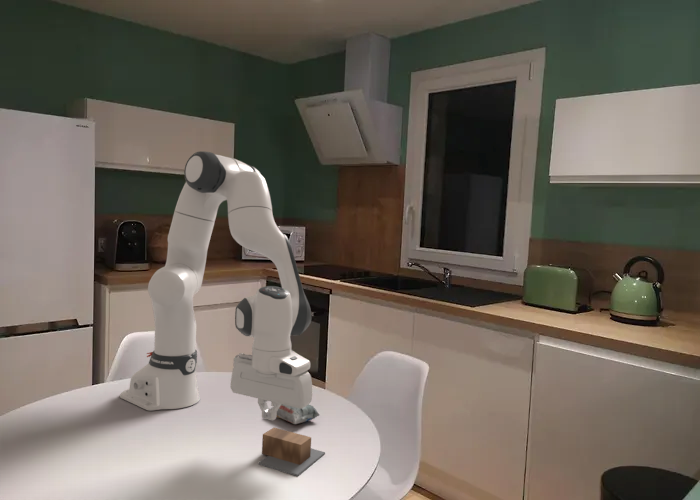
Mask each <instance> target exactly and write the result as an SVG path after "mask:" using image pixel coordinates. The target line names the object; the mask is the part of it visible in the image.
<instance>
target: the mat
mask: <svg viewBox="0 0 700 500" xmlns="http://www.w3.org/2000/svg"><path fill="white" fill-rule="evenodd" d="M324 455H326V452H325V451H322V450H319V449H318V450H317V449H314V448H311V454H310V457H309V458H308V459H307V460H306V461H304V462H303V463H302V464H301V465H298V464H295V463H292V462H288V461H285V460H282V459H278V458H275V457H271V456H268V455H266V457H265V458H263V459H261V460H260V461H259V462H258V463H257V464H258V465H260V466H263V467H267V468H269V469H273V470H276V471H279V472H283V473H286V474H289V475H293V476H296V477H299V476H300V475H301V474H303V473H304V472H305V471H306V470H308V469H309V468H310V467H311V466H313V464H315V463H316V462H317V461H318V460H320V459H321V458H322V457H323V456H324Z"/></svg>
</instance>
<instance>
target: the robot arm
mask: <svg viewBox="0 0 700 500" xmlns="http://www.w3.org/2000/svg"><path fill="white" fill-rule="evenodd" d="M184 166H185V167H184V170H183V171H184V179H185V182H184V185H183V187H182V189H181V191H180V193H179V196H178V200H177V202H176V205H175V208H174V212H173V215H172V220H171V223H170V228H169V231H168V234H167V253H166V261H165V265H164V266H162V267H160V268H159V269H157V270H156V271H155V272H154V273H153V275H152V276H151V278H150V279H149V281H148V286H147V292H148V295H149V297H150V300H151V307H152V312H153V319H154V342H153V343H154V347H153V349H154V350H153V351H150V352H147V353H146V358H149V361H148V363H147V364H146V365H144V366H143V367H142V368H140V369H138V371H136V372H134V373H133V374H132V376H131V377H130V380H129V381H130V382H129V387H128V388H127V389H125V390H123V391H122V392H121V393H120V396H119V398H121V399H122V400H125V401H126V402H128V403H131V404H133V405H135V406H138V407H139V408H141V409H144V410H146V411H148V412H149V411H159V410H177V409H182V408H186V407H190V406H192V405H195V404H198V402H199V401H201V400H200V399H201V397H200V394H199V393H200V392H199V388H198V381H197V369H196V367H197V363H198V351H197V350H198V349H196V348H197V347H196V346H197V321H196V315H195V311H194V309H195V308H194V296H195V295H196V294H198V293H199V291H200V290H201V288H202V285H203V280H204V274H205V269H206V263H207V256H208V249H209V245H210V242H211V241H210V240H211V238H212V237H211V236H212V233H213V230H214V227H215V221H216V218H217V214H218V210H219V207H220V205H221V204H222V203H224V202H225V201H226V203H227V219H228V226H229V227H228V228H229V231H230V234H231V236H232V238H233V240H234V241H235V242H236V243H237V244H239V246H242V247H243V248H245V249H247V250H249V251H252V252H255V253H258V254H260V255H262V256H263V257H265V258H267V259H269V260H270V261H272V263H273V264H274V265H275V268H276V270H277V273H278V274H277V275H278V277H279V281H280V286H281V287H279V286H275V285H267V286H262V287H260V288H259V289H257V291H256V293H255V294H254V295H252V296H247V297H244V298H243V299H241V300H240V301H239V302H238V304H237V305H236V307H235V312H234V325H235V329H236V330H237V331H238V332H240V333H241V334H242V335H243V336H245V337H250V338H253V342H252V346H251V349H252V350H251V354H246V353H245V352H244V353H242V352H240V353H239V354H237V355H235V357H234V358H233V362H232V363H233V368H232V371H231V372H232V373H231V378H230V390H231V391H232V393H234V394H238V395H242V396H246V397H250V398H255V399H257V404H258V406H259V409H260V411H261V418H262V419H266V420H270V421H275V420H276V419H277V417H276V416H277V411H278V409H279V407H280V406H281V404H283V405H288V406H292V407H296V408H300V409H302V408H304V407H306V406H307V405H311V402H312V400H313V382H312V380H313V379H312V375H311V374H310V373H309V371H308V370H310V369H311V361H310V360H309V359H307V358H305V357H304V356H302V355H301V354H298V353H297V352H296V351H294V350H293V349H292V341H291V336H293V337H294V336H295V337H296V336H297V337H298V336H300V335H302V334H303V333H304V332H305V331H306V330H307V329H308V328H309V327H310V325H311V322H312V310H311V306H310V303H309V300H308V298H307V296H306V294H305V292H304V291H305V290H304V288H303V284H302V280H301V277H300V273H299V269H298V266H297V263H296V258H295V254H294V252H293V249H292V248H293V247H292V245H291V242H290V240H289V238H288V236H287V235H286V234H284V233H283V232H282V231H281V230H280V228H279V227H278V225H277V223H276V222H275V218H274V215H273V205H272V199H271V194H270V191H269V190H270V189H269V187H268V184H267V181H266V178H265V177H264V176H263V175H262V174H261V173H262V172H260V171H259V170H258V169H257V167H255V166H254V165H253V166H252V165H251V164H248V163H245V162H243V161H242V160H238V159H236V158H233V157H229V156H224V155H220V154H216V153H214V152H212V151H211V152H210V151H196V152H194V153H193V154H191V156H190V157H189V158H188V160H187V161H186V163H185V165H184ZM267 402H270V403H271V408H272V407H273V408H272V410H271V408H269V406H268V403H267Z"/></svg>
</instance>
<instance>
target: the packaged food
mask: <svg viewBox="0 0 700 500" xmlns="http://www.w3.org/2000/svg"><path fill="white" fill-rule="evenodd" d="M272 408H273V406H271V407H270V409H271V410H272ZM319 416H320V413H319V412H318V410H317V409H316V408H315V407H314V406H313V405H311V404H309V405H307V406H306V407H304V408H302V409H300V408H296V407H292V406H288V405H283V404H281V406H280V407H279V409H278V411H277V416H276V418H279V419H281V420H284V421H286V422H288V423H291V424H292V425H298V424H301V423H305V422H308V421H312V420H314V419H315V418H317V417H319Z"/></svg>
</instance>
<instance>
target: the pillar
mask: <svg viewBox="0 0 700 500" xmlns="http://www.w3.org/2000/svg"><path fill="white" fill-rule="evenodd" d="M261 443H262V444H261V454H263V455H265V456H271V457H275V458H278V459H282V460H285V461H288V462H292V463H295V464H298V465H301V464H302V463H303V462H304V461H306V460H307V459H308V458H309V457H310V454H311V447H312V437H311V436H308V435H304V434H300V433H297V432H293V431H289V430H286V429H281V428H277V427H273V428H271V429H269V430H267V431H266V432H264V433H262V442H261Z"/></svg>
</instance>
